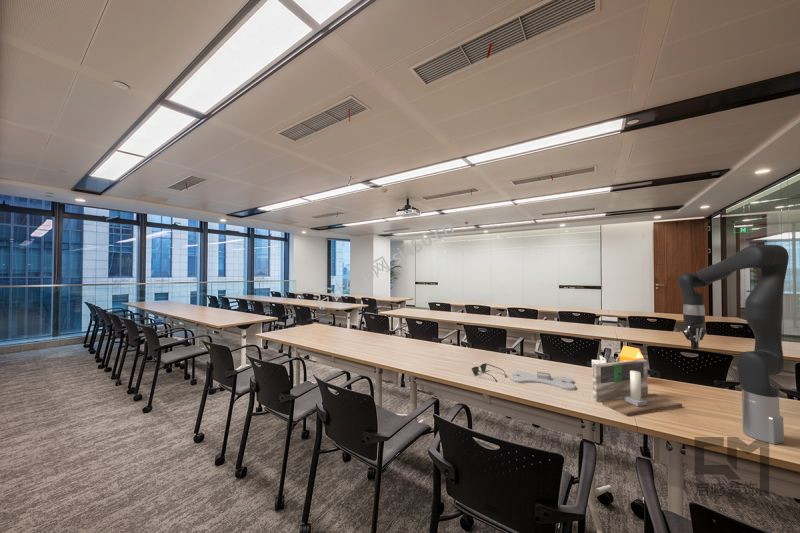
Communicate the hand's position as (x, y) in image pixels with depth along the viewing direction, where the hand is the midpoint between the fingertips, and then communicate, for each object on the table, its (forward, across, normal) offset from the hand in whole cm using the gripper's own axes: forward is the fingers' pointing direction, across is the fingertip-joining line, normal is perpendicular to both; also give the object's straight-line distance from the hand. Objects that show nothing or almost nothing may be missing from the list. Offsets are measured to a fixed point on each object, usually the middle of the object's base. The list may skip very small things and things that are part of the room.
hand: (694, 349), depth 141 cm
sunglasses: (+28, -76, +61) cm, 101 cm away
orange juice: (+27, +2, +32) cm, 42 cm away
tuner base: (+27, -27, +9) cm, 39 cm away
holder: (+28, -50, +46) cm, 73 cm away
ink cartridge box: (+27, -18, +36) cm, 49 cm away
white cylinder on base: (+25, -31, +8) cm, 40 cm away
